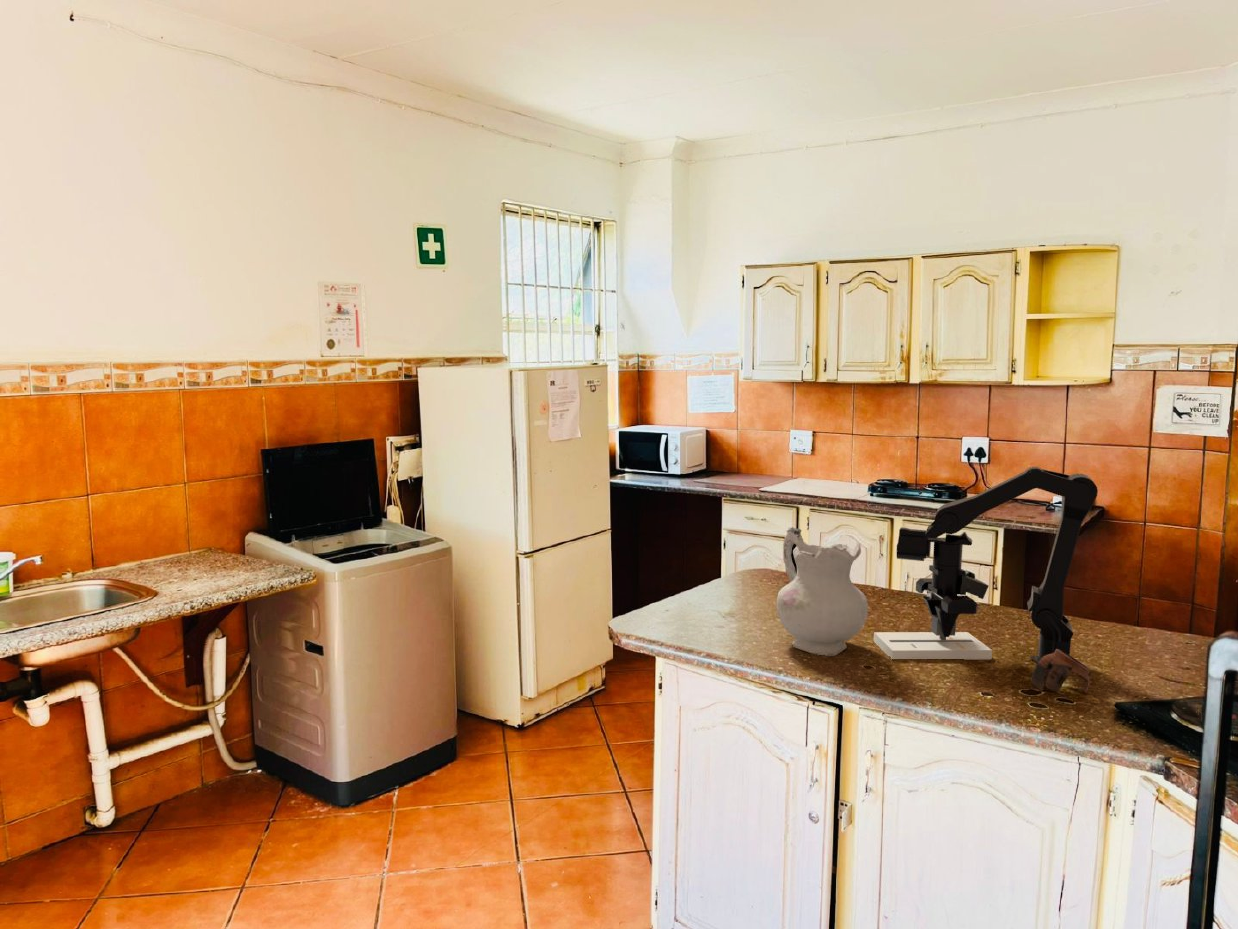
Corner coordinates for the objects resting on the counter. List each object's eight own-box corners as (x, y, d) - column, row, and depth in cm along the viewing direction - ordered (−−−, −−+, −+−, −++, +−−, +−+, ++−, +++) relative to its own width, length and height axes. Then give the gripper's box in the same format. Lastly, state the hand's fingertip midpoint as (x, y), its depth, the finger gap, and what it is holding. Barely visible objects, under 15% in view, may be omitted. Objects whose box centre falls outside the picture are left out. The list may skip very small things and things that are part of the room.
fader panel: (991, 659, 183) (992, 649, 183) (892, 659, 183) (892, 650, 182) (967, 640, 195) (967, 632, 195) (873, 641, 194) (873, 632, 194)
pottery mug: (1028, 677, 175) (1052, 643, 173) (1073, 708, 170) (1099, 673, 169) (1022, 681, 164) (1048, 645, 163) (1071, 714, 160) (1098, 677, 158)
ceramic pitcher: (750, 647, 193) (748, 537, 189) (799, 621, 207) (798, 519, 202) (836, 672, 178) (836, 554, 174) (884, 643, 192) (885, 533, 187)
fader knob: (954, 641, 187) (956, 618, 187) (936, 641, 187) (937, 619, 186) (949, 637, 190) (950, 614, 190) (930, 637, 190) (932, 614, 189)
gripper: (1005, 574, 178) (1000, 648, 180) (965, 553, 196) (961, 621, 198) (950, 574, 177) (946, 649, 179) (916, 553, 196) (913, 621, 198)
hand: (943, 634), depth 188 cm, fingers closed on fader knob, 3 cm apart
